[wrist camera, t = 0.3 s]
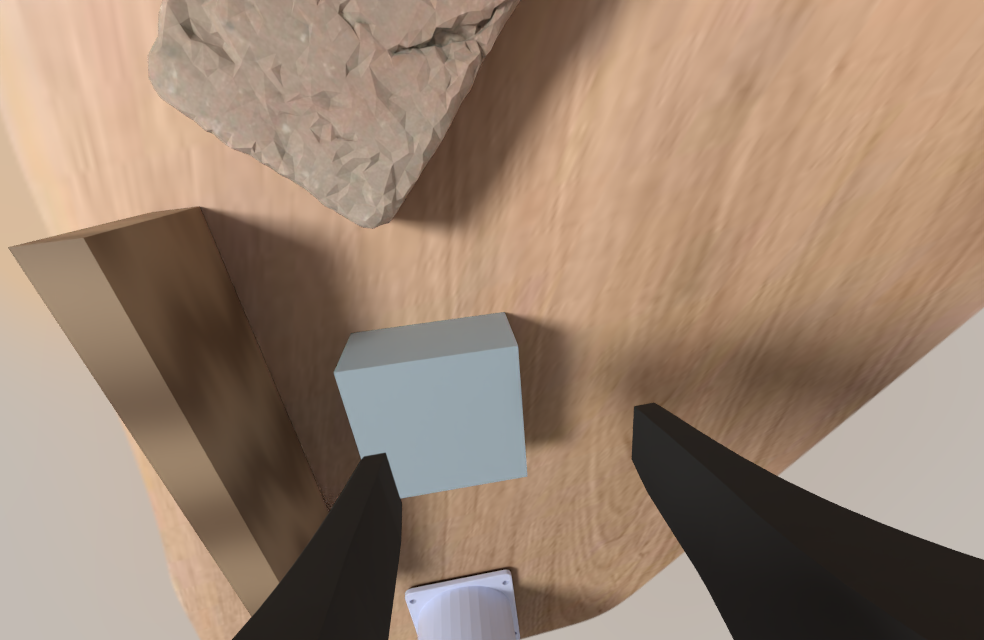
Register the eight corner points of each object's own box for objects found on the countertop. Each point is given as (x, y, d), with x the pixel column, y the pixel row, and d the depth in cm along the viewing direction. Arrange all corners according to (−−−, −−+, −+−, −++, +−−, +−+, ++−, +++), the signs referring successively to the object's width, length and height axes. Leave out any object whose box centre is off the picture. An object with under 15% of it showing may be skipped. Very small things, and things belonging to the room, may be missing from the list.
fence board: (349, 560, 27) (326, 666, 21) (319, 566, 27) (289, 674, 21) (199, 206, 16) (83, 237, 11) (150, 212, 16) (7, 247, 11)
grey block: (513, 426, 24) (527, 476, 20) (384, 447, 23) (375, 502, 20) (503, 309, 21) (517, 345, 17) (352, 331, 20) (333, 372, 16)
